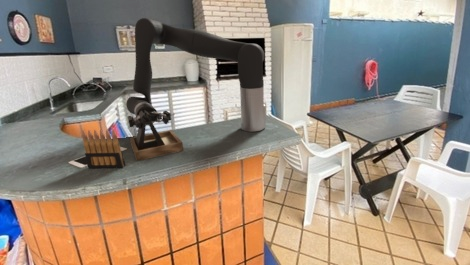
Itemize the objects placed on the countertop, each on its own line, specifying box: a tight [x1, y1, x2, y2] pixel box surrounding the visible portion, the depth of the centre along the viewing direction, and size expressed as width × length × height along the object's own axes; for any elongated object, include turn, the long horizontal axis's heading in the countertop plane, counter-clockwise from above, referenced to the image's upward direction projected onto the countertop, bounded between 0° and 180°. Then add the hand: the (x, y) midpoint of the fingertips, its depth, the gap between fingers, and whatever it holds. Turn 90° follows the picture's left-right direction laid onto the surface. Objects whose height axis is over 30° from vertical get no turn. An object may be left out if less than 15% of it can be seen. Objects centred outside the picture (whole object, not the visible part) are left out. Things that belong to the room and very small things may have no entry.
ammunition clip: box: [81, 129, 126, 170], centre depth 72 cm, size 11×2×12 cm, turn 87°
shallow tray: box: [129, 129, 184, 162], centre depth 87 cm, size 15×15×3 cm
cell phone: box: [68, 146, 128, 169], centre depth 83 cm, size 8×16×1 cm, turn 149°
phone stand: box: [135, 110, 165, 151], centre depth 84 cm, size 9×6×12 cm, turn 118°
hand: (153, 123), depth 82 cm, fingers open, 8 cm apart
